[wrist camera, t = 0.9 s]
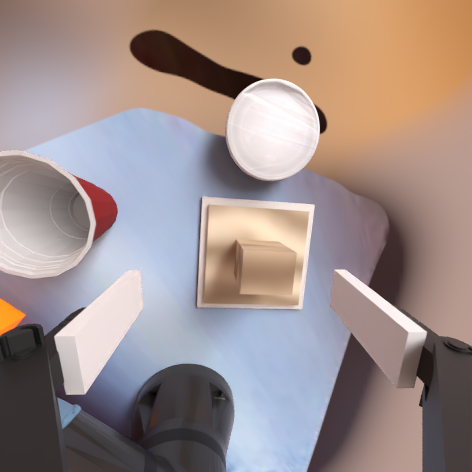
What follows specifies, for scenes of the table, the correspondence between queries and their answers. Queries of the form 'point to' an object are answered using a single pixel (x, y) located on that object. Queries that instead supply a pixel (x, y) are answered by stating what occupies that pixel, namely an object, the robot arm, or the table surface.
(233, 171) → the table surface
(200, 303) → the white square panel
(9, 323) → the orange juice
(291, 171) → the ramekin
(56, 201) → the plastic cup
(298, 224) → the birch lid
